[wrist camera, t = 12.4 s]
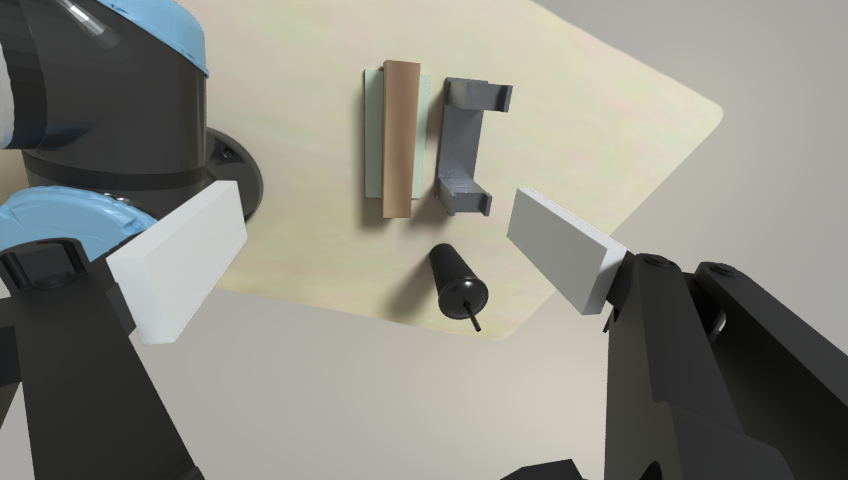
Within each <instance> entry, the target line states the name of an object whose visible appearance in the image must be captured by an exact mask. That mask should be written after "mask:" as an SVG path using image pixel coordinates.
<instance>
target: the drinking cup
mask: <svg viewBox="0 0 848 480" xmlns="http://www.w3.org/2000/svg"><path fill="white" fill-rule="evenodd" d="M430 260H431V265H432V269H433V274H434V278H435V283H436V287H437V292H438V296H439V298H438V304H439V308H440V310H441V312H442V313H443V314H444V315H445V316H447V317H449V318H451V319H456V320H462V319H467V318H470V319H471V321H472V323H473V325H474V327H475V329H476V331H477V332H479V331H481V328H480V326H479V324H478V322H477V320H476V318H475V316H474V315H476V314H477V313H479V312H480V311H481V310H482V309H483V308H484V306H485V305H486V303H487V300H488V289H487V287H486V285H485V283H484V282H483V281H481V280H480V279H478V278H477V276H476V275H475V274H474V273H473V271H472V270H471V269H470V268H469V266H468V265H467V264H466V263H465V261H464V260H463V259H462V258H461V257H460V255H459V254H458V253H457V252H456V250H455V249H454V248H453V247H452V246H451V245H449V244H446V243H442V244H439V245H437V246H435V247H434V248H433V249H432V250H431V253H430Z"/></svg>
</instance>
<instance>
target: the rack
mask: <svg viewBox="0 0 848 480" xmlns="http://www.w3.org/2000/svg"><path fill="white" fill-rule="evenodd" d="M512 88H513V86H510V85H496V84H488V81H481V80H471V79H460V78H450V77H447V80H446V90H445V100H444V110H443V120H442V130H441V140H440V150H439V160H438V170H437V180H436V190H435V199H440V200H441V202H442V203H443V205H444V206H445V208H446V209H447V211H448V214H449V215H450V216H454V214H455V212H481V213H482V214H483V215H484V216H489V212H490V207H491V201H492V196H491V195H490V194H489V193H487V192H486V191H485V190H483V189H482V188H481V187H480V186H479V185H478V184H476V183H475V182H474V181H473V177H474V171H475V164H476V157H477V151H478V144H479V138H480V131H481V125H482V118H483V112H484V110H491V111H501V112H508V109H509V104H510V99H511V93H512Z"/></svg>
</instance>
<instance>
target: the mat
mask: <svg viewBox="0 0 848 480" xmlns="http://www.w3.org/2000/svg"><path fill="white" fill-rule="evenodd" d="M430 77H431V76H429V75H420V79H419V94H418V110H417V125H416V140H415V155H414V170H413V186H412V198H421V190H422V177H423V165H424V152H425V140H426V127H427V114H428V102H429V89H430ZM382 113H383V71H378V70H367V69H365V197H369V198H381V163H382Z"/></svg>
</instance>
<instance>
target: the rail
mask: <svg viewBox="0 0 848 480" xmlns="http://www.w3.org/2000/svg"><path fill="white" fill-rule="evenodd" d="M420 64H421V63H411V62H402V61H392V60H386V61H385V62H384V63H383V113H382V163H381V208H382V214H383V218H410V216H411V201H412V186H413V170H414V155H415V140H416V125H417V110H418V94H419V79H420Z"/></svg>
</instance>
